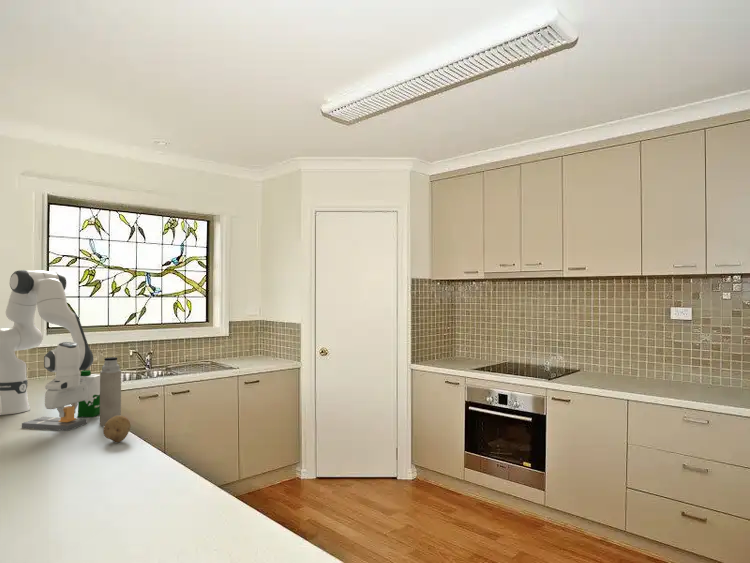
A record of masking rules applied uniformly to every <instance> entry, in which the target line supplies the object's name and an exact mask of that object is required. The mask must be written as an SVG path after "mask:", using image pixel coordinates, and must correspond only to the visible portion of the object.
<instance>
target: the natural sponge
mask: <svg viewBox="0 0 750 563" xmlns="http://www.w3.org/2000/svg"><path fill="white" fill-rule="evenodd" d="M131 425H132V424H131V422H130V420H129V418H127V417H126V416H124V415H121V416H114V417H112V418H111V419H109V420H108V421H107V422H106V424H105V426H103V436H104V437H105V438H107V439H108V440H112V442H114V443H117V444H118V443H121V442H122V441H124V440H125V438H127V436H128V435H129V433H130V430H131Z"/></svg>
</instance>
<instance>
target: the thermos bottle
mask: <svg viewBox="0 0 750 563" xmlns="http://www.w3.org/2000/svg"><path fill="white" fill-rule="evenodd" d="M103 359H104V364H103V365H102V366H101V370H100V372H99V374H100V414H99V426H100V427H104V426H105V424H106V422H107V421H108V420H109V419H111V418H112V417H114V416H122V370H121V369H120V364H118V357H117V356H115V357H114V356H112V357H111V356H109V357H104V358H103Z"/></svg>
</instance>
